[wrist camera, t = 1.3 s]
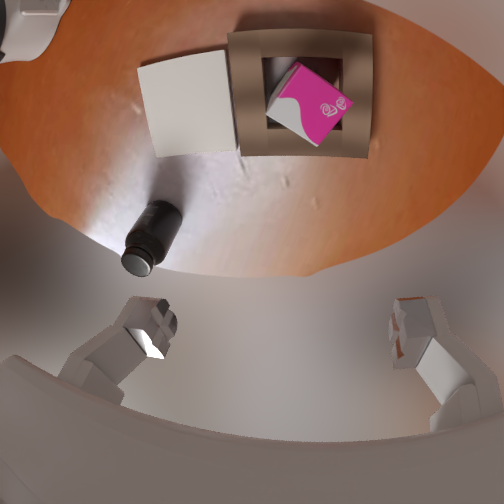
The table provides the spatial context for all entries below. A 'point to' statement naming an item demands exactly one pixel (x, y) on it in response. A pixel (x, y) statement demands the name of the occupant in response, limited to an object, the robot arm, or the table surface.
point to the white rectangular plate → (189, 104)
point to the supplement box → (307, 104)
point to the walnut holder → (301, 45)
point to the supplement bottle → (150, 238)
